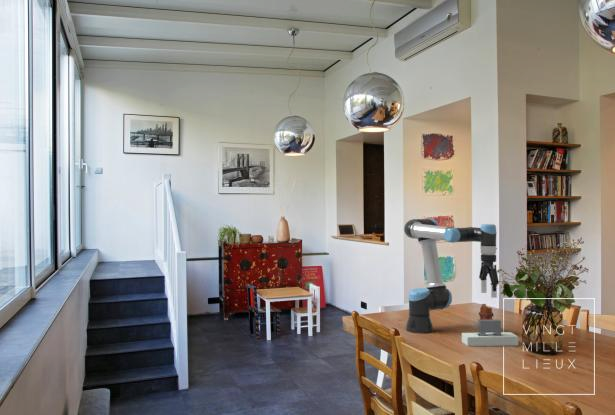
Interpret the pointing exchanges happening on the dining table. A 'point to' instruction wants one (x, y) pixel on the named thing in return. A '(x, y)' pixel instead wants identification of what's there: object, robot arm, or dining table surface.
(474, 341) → the pale board with holes
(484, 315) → the mug
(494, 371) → the dining table surface
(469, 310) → the dining table surface
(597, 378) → the dining table surface
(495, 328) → the grey block
